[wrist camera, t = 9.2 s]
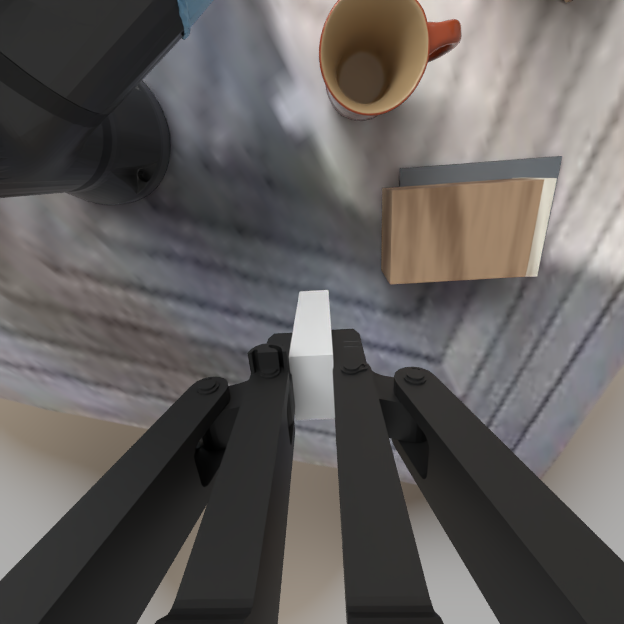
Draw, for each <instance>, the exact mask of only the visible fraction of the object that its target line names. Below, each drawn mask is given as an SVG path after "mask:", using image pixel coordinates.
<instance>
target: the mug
mask: <svg viewBox="0 0 624 624" xmlns="http://www.w3.org/2000/svg"><path fill="white" fill-rule="evenodd" d="M460 40H461V24H460V22H459V21H458V20H456V19H452V20H446V21H442V22H427V19H426V15H425V12H424V10H423V8H422V6H421V5H420V4H419V2H418V1H417V0H338V1H337V3H336V4H335V5H334V7H333V8H332V10H331V11H330V13H329V15H328V17H327V19H326V21H325V24H324V27H323V30H322V33H321V38H320V45H319V62H320V69H321V73H322V77H323V80H324V82H325V84H326V90H327V94H328V97H329V99H330V101H331V103H332V105H333V106H334V108H335V109H336V111H337V112H338V113H339V114H340V115H341V116H343V117H346V118H349V119H351V120H356V121H364V120H369V119H372V118H374V117H376V116H378V115H380V114H384V113H387V112H389V111H391V110H393V109H395V108H397V107H398V106H399V105H401V104H402V103H403V102H404V101H406V100H407V99H408V97H409V96H410V95H411V94H412V93H413V92H414V90H415V89H416V87H417V86H418V84H419V82H420V80H421V78H422V76H423V74H424V72H425V69H426V66H427V63H428V62H430V61H433V60H435V59H437V58H439V57H441V56H443V55H445V54H446V53H448V52H449V51H451V50H452V49H454V48H455V47H456V46H457V45H458V44H459V43H460Z"/></svg>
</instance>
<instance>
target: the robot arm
mask: <svg viewBox="0 0 624 624" xmlns="http://www.w3.org/2000/svg"><path fill="white" fill-rule="evenodd" d="M212 1H213V0H0V198H5V197H17V196H29V195H41V194H53V193H64V192H65V193H68V194H71V195H73V196H76V197H79V198H81V199H84V200H87V201H90V202H93V203H98V204H106V205H117V204H124V203H130V202H134V201H137V200H140V199H142V198H144V197H145V196H147V195H148V194H150V193H151V192H152V191H153V190H154V189H155V188H156V187H157V186H158V185H159V183H160V182H161V180H162V179H163V177H164V175H165V172H166V170H167V166H168V162H169V157H170V137H169V131H168V126H167V123H166V119H165V117H164V114H163V111H162V109H161V107H160V105H159V103H158V101H157V100H156V98H155V96H154V95H153V93H152V92H151V91H150V89H149V88H148V87H147V85H146V84H145V83H144V82H143V81H142V80H143V79H144V78H145V77H146V75H147V74H148V73H149V72H150V71H151V70H152V69H153V68H154V67H155V66H156V65H157V64H158V63H159V62H160V61H161V59H162V58H163V57H164V56H165V55H166V54H167V53H168V52H169V51H170V50H171V49H172V48H173V47H174V46H175V44H176V43H177V42H178V41H179V40H180V39H181V38H182V39H183V40H185V39H186V38H187V37H188V36H189V34H190V28H191V26H192V25H193V24H194V23H195V22H196V20H197V19H198V18H199V17H200V16H201V14H202V13H203V12H204V11H205V10H206V8H207V7H208V6H209V5H210V4H211V3H212ZM248 358H249V364H250V370H251V376H250V379H249V380H248V381H245V382H243V383H239V384H235V385H231V386H228V382H227V381H226V380H225V379H224V378H221V377H208V378H204V379H202V380H200V381H197V382H196V383H194V384H193V385H192V386H191V387H190V388H189V389H188V390H187V391H186V392H185V393H184V394H183V395H182V396H181V397H180V398H179V399H178V400H177V401H176V402H175V403H174V404H173V405H172V406H171V407H170V408H169V409H168V410H167V411H166V412H165V413H164V414H163V415H162V416H161V417H160V418H159V419H158V420H157V421H156V422H155V423H154V424H153V425H152V426H151V427H150V428H149V429H148V430H147V432H146V433H145V434H144V435H143V436H142V437H141V438H140V439H139V440H138V441H137V442H136V443H135V444H134V445H133V446H132V447H131V448H130V449H129V450H128V451H127V452H126V453H125V454H124V455H123V456H122V457H121V458H120V459H119V460H118V461H117V462H116V463H115V464H114V465H113V466H112V467H111V468H110V469H109V470H108V471H107V472H106V473H105V474H104V475H103V476H102V478H100V479H99V481H98V482H97V483H96V484H95V485H94V486H93V487H92V488H91V489H90V490H89V491H88V492H87V493H86V494H85V495H84V496H83V497H82V498H81V499H80V500H79V501H78V502H77V503H76V504H75V505H74V506H73V507H72V508H71V509H70V510H69V511H68V512H67V513H66V514H65V515H64V516H63V517H62V518H61V519H60V520H59V521H58V522H57V523H56V525H55V526H53V528H52V529H51V530H50V531H49V532H48V533H47V534H46V535H45V536H44V537H43V538H42V539H41V540H40V541H39V542H38V543H37V544H36V545H35V546H34V547H33V548H32V549H31V550H30V551H29V552H28V553H27V554H26V555H25V556H24V557H23V558H22V559H21V560H20V561H19V562H18V563H17V564H16V565H15V566H14V567H13V568H12V569H11V570H10V571H9V572H8V573H7V574H6V576H5V577H4V578H3V579H2V580H1V581H0V624H137V622H138V620H139V618H140V617H141V615H142V613H143V612H144V610H145V608H146V607H147V605H148V603H149V602H150V600H151V598H152V596H153V595H154V593H155V591H156V590H157V588H158V586H159V585H160V583H161V581H162V579H163V578H164V576H165V574H166V573H167V571H168V569H169V568H170V566H171V564H172V563H173V561H174V559H175V557H176V556H177V554H178V552H179V551H180V549H181V547H182V545H183V544H184V542H185V540H186V539H187V537H188V535H189V534H190V532H191V530H192V528H193V527H194V525H195V523H196V522H197V520H198V519H199V517H200V515H201V513H202V512H203V510H204V508H205V506H206V505H207V506H206V509H205V513H204V515H203V518H202V522H201V524H200V527H199V530H198V533H197V536H196V539H195V542H194V545H193V548H192V551H191V554H190V557H189V560H188V563H187V566H186V569H185V572H184V575H183V578H182V581H181V584H180V587H179V590H178V593H177V596H176V599H175V601H174V604H173V606H172V609H171V610H170V612H169V613H168V615H166V616H164V617H163V618H161V619H159V620H157V621H156V623H155V624H278V613H279V602H280V592H281V580H282V570H283V569H282V568H283V559H284V548H285V537H286V526H287V514H288V503H289V493H290V481H291V471H292V460H293V449H294V438H295V425H294V414H295V419H296V420H322V419H335V427H336V446H337V462H338V479H339V495H340V496H339V497H340V513H341V530H342V549H343V566H344V582H345V600H346V618H347V624H444V623H443V621H442V619H441V617H440V616H439V615H438V614H437V613H436V612H435V611H434V609H433V606H432V604H431V600H430V597H429V593H428V589H427V586H426V581H425V577H424V574H423V570H422V566H421V562H420V558H419V554H418V550H417V546H416V542H415V538H414V534H413V531H412V527H411V523H410V519H409V515H408V511H407V507H406V503H405V500H404V496H403V492H402V488H401V484H400V480H399V476H398V472H397V468H396V464H395V460H394V456H393V452H392V448H391V445H390V441H389V438H392V442H393V445H394V446H395V448H396V450H397V451H398V453H399V455H400V456H401V458H402V460H403V461H404V463H405V465H406V467H407V468H408V470H409V472H410V473H411V475H412V477H413V478H414V480H415V482H416V483H417V485H418V487H419V488H420V490H421V492H422V493H423V495H424V497H425V498H426V500H427V502H428V503H429V505H430V507H431V509H432V510H433V512H434V514H435V515H436V517H437V519H438V520H439V522H440V524H441V525H442V527H443V529H444V530H445V532H446V534H447V535H448V537H449V539H450V540H451V542H452V544H453V545H454V547H455V549H456V550H457V552H458V554H459V556H460V557H461V559H462V560H463V562H464V564H465V566H466V567H467V569H468V571H469V572H470V574H471V576H472V577H473V579H474V581H475V582H476V584H477V586H478V587H479V589H480V591H481V593H482V594H483V596H484V597H485V599H486V601H487V603H488V604H489V606H490V608H491V609H492V611H493V613H494V614H495V616H496V618H497V619H498V621H499V623H500V624H624V562H623V561H622V560H621V559H620V558H619V557H618V556H617V555H616V554H615V553H614V552H613V551H612V550H611V549H610V548H609V547H608V546H607V545H606V544H605V543H604V542H603V541H602V540H601V539H600V538H599V537H598V536H597V535H596V534H595V533H594V532H593V531H592V530H591V529H590V528H589V527H588V526H587V525H586V524H585V523H584V522H583V521H582V520H581V519H580V518H579V517H577V515H576V514H575V513H574V512H573V511H572V510H571V509H570V508H569V507H567V506H566V505H565V503H563V502H562V501H561V500H560V499H559V498H558V497H557V496H556V495H555V494H554V493H553V492H552V491H551V490H550V489H549V488H548V487H547V486H546V485H545V484H544V483H543V482H542V481H541V480H540V479H539V478H538V477H537V476H536V475H535V474H534V473H533V472H532V471H531V470H530V469H529V468H528V467H527V466H526V465H525V464H524V463H523V462H522V461H521V460H520V459H519V458H518V457H517V456H516V455H515V454H514V453H513V452H512V451H511V450H510V449H509V448H508V447H507V446H506V445H505V444H504V443H503V442H502V441H501V440H500V439H499V438H498V437H497V436H496V435H495V434H494V433H493V432H492V431H491V430H490V429H488V428H487V427H486V426H485V425H484V424H483V423H482V422H481V421H480V420H479V419H478V418H477V417H476V416H475V415H474V414H473V413H472V412H471V411H470V410H469V409H468V408H467V407H466V406H465V405H464V404H463V403H462V402H461V401H460V400H459V399H458V398H457V397H456V396H455V395H454V394H453V393H452V392H451V391H450V390H449V389H448V388H447V387H446V386H445V385H444V384H443V383H442V382H441V381H440V380H439V379H438V378H437V377H436V376H435V375H434V374H432V373H431V372H429V371H428V370H425V369H422V368H419V367H405V368H402V369H399V370H398V371H397V372H395V375H394V377H388V376H383V375H379V374H377V373H375V372H373V371H372V370H371V367H370V366H369V364H367V363H366V359H365V355H364V351H363V347H362V343H361V339H360V334H359V333H358V332H357V331H355V330H354V329H340V330H331V321H330V307H329V293H328V290H318V291H300V292H299V298H298V304H297V310H296V316H295V322H294V328H293V333H278V334H273V335H272V336H271V337H270V338H269V339H268V341H267V344H261V345H258V346H256V347H254V348H252V349H251V350H250V351H249V352H248Z"/></svg>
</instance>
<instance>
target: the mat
mask: <svg viewBox="0 0 624 624" xmlns="http://www.w3.org/2000/svg"><path fill="white" fill-rule="evenodd" d="M561 160H562V156H556V157H543V158H530V159H517V160H504V161H491V162H478V163H465V164H452V165H439V166H426V167H413V168H400V181H399V187H406V186H419V185H433V184H446V183H460V182H473V181H487V180H500V179H512V178H521V177H527V178H557V179H558V174H559V170H560V165H561ZM556 184H557V181H556ZM555 189H556V186H555ZM554 194H555V191H554ZM553 199H554V196H553ZM552 204H553V201H552ZM551 208H552V206H551ZM550 213H551V210H550ZM549 218H550V215H549ZM548 223H549V220H548ZM547 228H548V225H547ZM546 233H547V230H546ZM545 237H546V235H545ZM544 242H545V240H544ZM543 247H544V244H543ZM542 252H543V249H542ZM541 257H542V254H541ZM540 260H541V259H540Z"/></svg>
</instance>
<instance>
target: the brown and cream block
mask: <svg viewBox="0 0 624 624" xmlns="http://www.w3.org/2000/svg"><path fill="white" fill-rule="evenodd" d="M556 181H557V178H527V177H521V178H512V179H500V180H487V181H473V182H460V183H446V184H433V185H419V186H406V187H392V188H382V259H381V270H382V272H383V273H384V275H385V277H386V278H387V280H388V282H389V283H390V284H406V283H423V282H440V281H457V280H474V279H491V278H508V277H535V276H537V274H538V269H539V264H540V259H541V254H542V249H543V244H544V240H545V235H546V230H547V225H548V220H549V215H550V210H551V206H552V201H553V196H554V191H555V186H556Z"/></svg>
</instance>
